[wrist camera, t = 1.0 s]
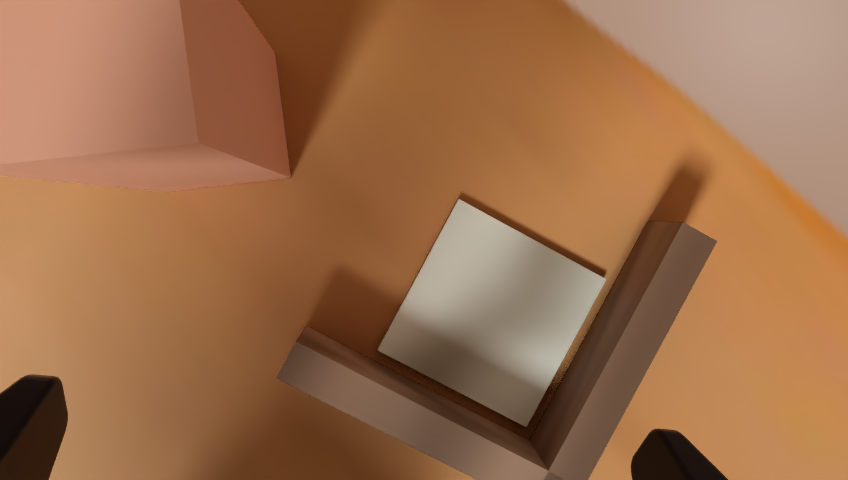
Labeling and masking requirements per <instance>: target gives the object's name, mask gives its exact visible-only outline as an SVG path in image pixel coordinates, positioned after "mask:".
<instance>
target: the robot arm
mask: <svg viewBox="0 0 848 480" xmlns="http://www.w3.org/2000/svg"><path fill="white" fill-rule="evenodd" d="M67 422H68V412H67V406H66V401H65V396H64V391H63V385H62V382H61V380H60V379H59V378H58V377H55V376H44V375H27V376H24V377H22V378H21V379H19V380H18V381H16V382H15V383H14V384H12V385H11V386H10V387H8V388H7V389H6V390H4V391H3V392H2V393H0V480H49V477H50V474H51V471H52V468H53V465H54V462H55V460H56V457H57V454H58V451H59V448H60V445H61V442H62V440H63V437H64V434H65V431H66V427H67ZM631 474H632V479H633V480H728V479H727V478H726V477H725V476H724V475H723V474H722V473H721V472H720V471H719V470H718V469H717V468H716V467H715V466H714V465H713V464H712V463H711V462H710V461H709V460H708V459H707V458H706V457H705V456H704V455H703V454H702V453H701V452H700V451H699V450H698V449H697V448H696V447H695V446H694V445H693V444H692V443H691V442H690V441H689V440H688V439H687V438H686V437H685V436H683V435H682V434H681V433H680V432H678V431H675V430H667V429H654V430H652V431H651V432H650V433H649V434H648V436H647V437H646V438H645V440H644V441H643V443H642V444H641V446H640V447H639V449H638V450H637V452H636V453H635V454H634V456H633V459H632V462H631Z"/></svg>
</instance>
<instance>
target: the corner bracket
mask: <svg viewBox="0 0 848 480" xmlns="http://www.w3.org/2000/svg"><path fill="white" fill-rule="evenodd" d="M716 242H717V241H716V240H714V239H712V238H710V237H709V236H707V235H705V234H703V233H701V232H700V231H698V230H696V229H694V228H693V227H691V226H689V225H687V224H685V223H684V222H657V221H648V222H647V224H646V226H645V227H644V229H643V231H642V233H641V235H640V237H639V239H638V240H637V242H636V244H635V246H634V248H633V250H632V252H631V253H630V255H629V257H628V259H627V261H626V263H625V264H624V266H623V268H622V270H621V272H620V274H619V276H618V277H617V279H616V281H615V283H614V285H613V287H612V289H611V290H610V292H609V294H608V296H607V298H606V300H605V301H604V303H603V305H602V307H601V309H600V311H599V313H598V314H597V316H596V318H595V320H594V322H593V324H592V326H591V327H590V329H589V331H588V333H587V335H586V337H585V338H584V340H583V342H582V344H581V346H580V348H579V350H578V351H577V353H576V355H575V357H574V359H573V361H572V363H571V364H570V366H569V368H568V370H567V372H566V374H565V375H564V377H563V379H562V381H561V383H560V385H559V387H558V388H557V390H556V392H555V394H554V396H553V398H552V400H551V401H550V403H549V405H548V407H547V409H546V411H545V413H544V414H543V416H542V418H541V420H540V422H539V424H538V425H537V427H536V429H535V431H534V433H533V435H532V437H531V438H530V440H527V439H525V438H523V437H521V436H519V435H518V434H516V433H514V432H512V431H510V430H508V429H506V428H504V427H502V426H500V425H498V424H496V423H494V422H492V421H490V420H488V419H487V418H485V417H483V416H481V415H479V414H477V413H475V412H473V411H471V410H469V409H467V408H465V407H463V406H461V405H459V404H457V403H455V402H454V401H452V400H450V399H448V398H446V397H444V396H442V395H440V394H438V393H436V392H434V391H432V390H430V389H428V388H426V387H424V386H422V385H421V384H419V383H417V382H415V381H413V380H411V379H409V378H407V377H405V376H403V375H401V374H399V373H397V372H395V371H393V370H391V369H389V368H388V367H386V366H384V365H382V364H380V363H378V362H376V361H374V360H372V359H370V358H368V357H366V356H364V355H362V354H360V353H358V352H356V351H355V350H353V349H351V348H349V347H347V346H345V345H343V344H341V343H339V342H337V341H335V340H333V339H331V338H329V337H327V336H325V335H324V334H322V333H320V332H318V331H316V330H314V329H312V328H310V327H308V326H307V327H306V328H305V329H304V331H303V332H302V334H301V335H300V336H299V338H298V339H297V341H296V342H295V344H294V346H293V348H292V350H291V352H290V354H289V355H288V357H287V359H286V361H285V363H284V365H283V367H282V368H281V370H280V372H279V374H278V376H277V379H279V380H281V381H283V382H285V383H287V384H289V385H291V386H293V387H295V388H297V389H299V390H300V391H302V392H304V393H306V394H308V395H310V396H312V397H314V398H316V399H318V400H320V401H322V402H324V403H326V404H328V405H330V406H332V407H334V408H336V409H338V410H340V411H342V412H344V413H346V414H348V415H350V416H352V417H354V418H356V419H358V420H360V421H362V422H364V423H366V424H368V425H370V426H372V427H374V428H376V429H378V430H380V431H382V432H384V433H386V434H387V435H389V436H391V437H393V438H395V439H397V440H399V441H401V442H403V443H405V444H407V445H409V446H411V447H413V448H415V449H417V450H419V451H421V452H423V453H425V454H427V455H429V456H431V457H433V458H435V459H437V460H439V461H441V462H443V463H445V464H447V465H449V466H451V467H453V468H455V469H457V470H459V471H461V472H463V473H465V474H467V475H469V476H471V477H473V478H474V479H476V480H588V479H589V477H590V475H591V473H592V471H593V469H594V468H595V466H596V464H597V462H598V460H599V458H600V457H601V455H602V453H603V451H604V449H605V447H606V445H607V444H608V442H609V440H610V438H611V436H612V434H613V433H614V431H615V429H616V427H617V425H618V423H619V421H620V420H621V418H622V416H623V414H624V412H625V410H626V409H627V407H628V405H629V403H630V401H631V399H632V397H633V396H634V394H635V392H636V390H637V388H638V386H639V385H640V383H641V381H642V379H643V377H644V375H645V373H646V372H647V370H648V368H649V366H650V364H651V362H652V361H653V359H654V357H655V355H656V353H657V351H658V349H659V348H660V346H661V344H662V342H663V340H664V338H665V337H666V335H667V333H668V331H669V329H670V327H671V325H672V324H673V322H674V320H675V318H676V316H677V314H678V313H679V311H680V309H681V307H682V305H683V303H684V301H685V300H686V298H687V296H688V294H689V292H690V290H691V289H692V287H693V285H694V283H695V281H696V279H697V277H698V276H699V274H700V272H701V270H702V268H703V266H704V265H705V263H706V261H707V259H708V257H709V255H710V253H711V252H712V250H713V248H714V246H715V244H716ZM605 281H606V279H605V278H603V277H601V276H599V275H598V274H596V273H594V272H592V271H590V270H588V269H587V268H585V267H583V266H581V265H579V264H577V263H576V262H574V261H572V260H570V259H568V258H566V257H565V256H563V255H561V254H559V253H557V252H555V251H554V250H552V249H550V248H548V247H546V246H544V245H543V244H541V243H539V242H537V241H535V240H533V239H532V238H530V237H528V236H526V235H524V234H522V233H521V232H519V231H517V230H515V229H513V228H511V227H509V226H508V225H506V224H504V223H502V222H500V221H498V220H497V219H495V218H493V217H491V216H489V215H487V214H486V213H484V212H482V211H480V210H478V209H476V208H475V207H473V206H471V205H469V204H467V203H465V202H464V201H462V200H460V199H458V200H457V202H456V204H455V206H454V208H453V210H452V211H451V213H450V215H449V217H448V219H447V221H446V223H445V224H444V226H443V228H442V230H441V232H440V234H439V236H438V237H437V239H436V241H435V243H434V245H433V247H432V249H431V250H430V252H429V254H428V256H427V258H426V260H425V262H424V264H423V265H422V267H421V269H420V271H419V273H418V275H417V277H416V278H415V280H414V282H413V284H412V286H411V288H410V290H409V291H408V293H407V295H406V297H405V299H404V301H403V303H402V304H401V306H400V308H399V310H398V312H397V314H396V316H395V317H394V319H393V321H392V323H391V325H390V327H389V329H388V331H387V332H386V334H385V336H384V338H383V340H382V342H381V344H380V345H379V347H378V351H380V352H382V353H383V354H385V355H387V356H389V357H391V358H393V359H395V360H397V361H399V362H401V363H403V364H405V365H407V366H409V367H411V368H412V369H414V370H416V371H418V372H420V373H422V374H424V375H426V376H428V377H430V378H432V379H434V380H436V381H438V382H440V383H441V384H443V385H445V386H447V387H449V388H451V389H453V390H455V391H457V392H459V393H461V394H463V395H465V396H467V397H469V398H471V399H472V400H474V401H476V402H478V403H480V404H482V405H484V406H486V407H488V408H490V409H492V410H494V411H496V412H498V413H500V414H501V415H503V416H505V417H507V418H509V419H511V420H513V421H515V422H517V423H519V424H521V425H523V426H525V427H527V425H528V423H529V422H530V420H531V418H532V416H533V414H534V412H535V410H536V409H537V407H538V405H539V403H540V401H541V399H542V397H543V396H544V394H545V392H546V390H547V388H548V386H549V385H550V383H551V381H552V379H553V377H554V375H555V373H556V372H557V370H558V368H559V366H560V364H561V362H562V360H563V359H564V357H565V355H566V353H567V351H568V349H569V348H570V346H571V344H572V342H573V340H574V338H575V336H576V335H577V333H578V331H579V329H580V327H581V325H582V323H583V322H584V320H585V318H586V316H587V314H588V312H589V310H590V309H591V307H592V305H593V303H594V301H595V299H596V298H597V296H598V294H599V292H600V290H601V288H602V286H603V285H604V283H605Z"/></svg>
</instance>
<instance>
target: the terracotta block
mask: <svg viewBox="0 0 848 480" xmlns="http://www.w3.org/2000/svg"><path fill="white" fill-rule="evenodd" d="M0 176H8V177H18V178H28V179H38V180H48V181H58V182H68V183H78V184H88V185H98V186H108V187H118V188H128V189H138V190H148V191H158V192H172V191H181V190H190V189H199V188H208V187H217V186H225V185H234V184H243V183H252V182H261V181H270V180H279V179H287V178H291V173H290V165H289V158H288V150H287V142H286V134H285V126H284V119H283V111H282V103H281V95H280V87H279V79H278V72H277V64H276V56H275V52H274V51H273V50H272V48H271V47H270V45H269V44H268V42H267V41H266V39H265V38H264V37H263V35H262V34H261V32H260V31H259V29H258V28H257V26H256V25H255V23H254V22H253V21H252V19H251V18H250V16H249V15H248V13H247V12H246V10H245V9H244V8H243V6H242V5H241V3H240V2H239V0H0Z"/></svg>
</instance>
